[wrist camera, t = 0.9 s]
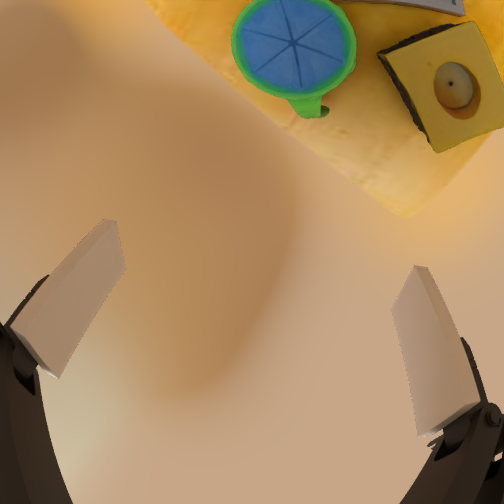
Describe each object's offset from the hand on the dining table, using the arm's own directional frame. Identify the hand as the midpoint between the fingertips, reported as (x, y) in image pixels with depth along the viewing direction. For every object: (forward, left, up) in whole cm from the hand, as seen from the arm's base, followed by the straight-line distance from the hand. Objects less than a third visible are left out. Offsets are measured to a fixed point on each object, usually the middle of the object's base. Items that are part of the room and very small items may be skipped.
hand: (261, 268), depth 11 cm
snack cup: (-9, -1, -26) cm, 28 cm away
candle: (-6, +13, -26) cm, 30 cm away
